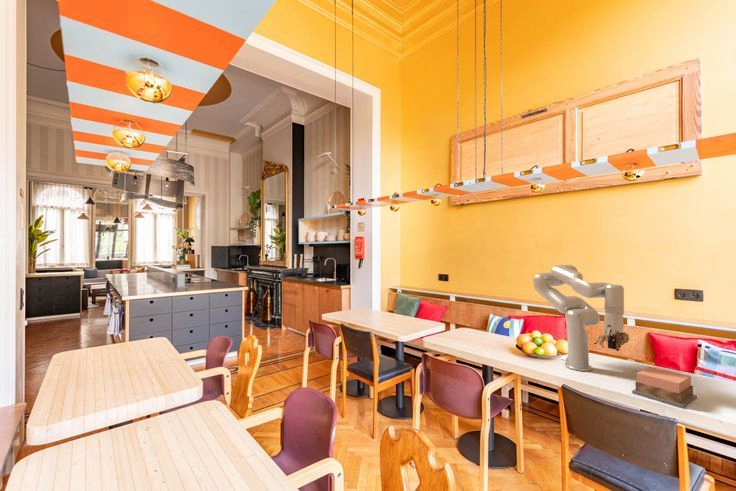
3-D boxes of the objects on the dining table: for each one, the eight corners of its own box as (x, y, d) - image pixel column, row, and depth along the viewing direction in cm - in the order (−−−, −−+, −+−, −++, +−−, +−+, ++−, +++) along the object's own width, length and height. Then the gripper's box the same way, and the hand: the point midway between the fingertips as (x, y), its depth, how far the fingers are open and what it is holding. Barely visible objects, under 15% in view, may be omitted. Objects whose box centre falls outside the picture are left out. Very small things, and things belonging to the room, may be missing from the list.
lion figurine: (631, 351, 157) (631, 332, 157) (627, 353, 154) (627, 334, 154) (595, 343, 169) (595, 326, 169) (591, 345, 166) (591, 327, 166)
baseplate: (632, 393, 147) (632, 390, 147) (647, 384, 156) (647, 382, 156) (683, 408, 133) (683, 405, 133) (697, 398, 141) (697, 395, 141)
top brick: (637, 381, 147) (637, 372, 147) (650, 375, 154) (650, 366, 154) (679, 393, 135) (678, 383, 135) (691, 385, 142) (690, 376, 142)
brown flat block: (635, 390, 147) (635, 381, 147) (649, 383, 155) (649, 374, 155) (680, 404, 134) (680, 394, 134) (693, 395, 142) (692, 385, 142)
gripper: (613, 307, 168) (613, 343, 168) (597, 310, 159) (597, 348, 159) (631, 309, 162) (631, 347, 162) (615, 313, 153) (615, 353, 153)
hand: (614, 347), depth 160 cm, fingers closed on lion figurine, 4 cm apart
